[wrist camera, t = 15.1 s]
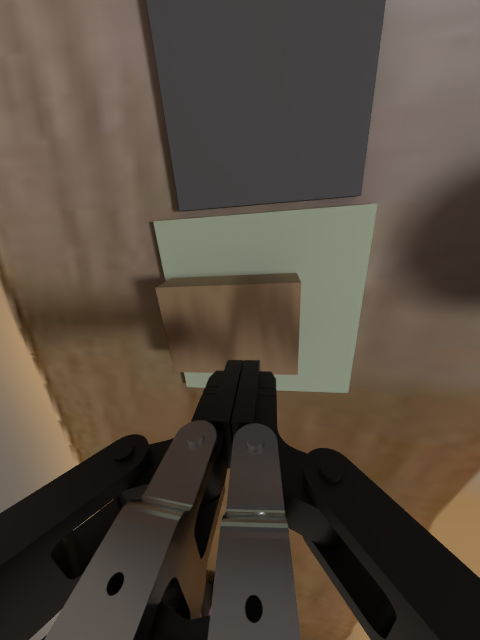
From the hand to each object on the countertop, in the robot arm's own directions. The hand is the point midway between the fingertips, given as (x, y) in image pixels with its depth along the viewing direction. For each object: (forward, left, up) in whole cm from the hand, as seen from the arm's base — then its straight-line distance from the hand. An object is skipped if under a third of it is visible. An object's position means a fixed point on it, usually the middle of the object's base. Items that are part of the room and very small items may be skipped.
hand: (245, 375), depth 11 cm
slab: (0, +3, -6) cm, 6 cm away
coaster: (-13, +1, -8) cm, 15 cm away
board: (0, 0, -8) cm, 8 cm away
